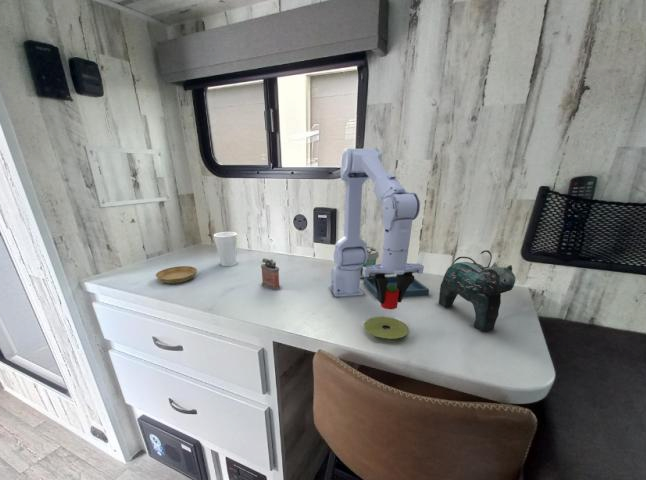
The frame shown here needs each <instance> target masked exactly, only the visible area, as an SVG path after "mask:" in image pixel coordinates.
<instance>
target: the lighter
mask: <svg viewBox="0 0 646 480" xmlns="http://www.w3.org/2000/svg"><path fill="white" fill-rule="evenodd" d="M261 263H262V264H261V265H260V268H261V278H262V281H261V285H262V286H263V287H265V288H267V289H270V290H273V291H279V290H280V289H281V285H280V273H279V272H280V267H278V266H276V265H277V262H276V261H274V260H273V259H272V258H271V259H268V258H265V257H263V258H262V262H261Z"/></svg>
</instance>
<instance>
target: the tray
mask: <svg viewBox="0 0 646 480" xmlns="http://www.w3.org/2000/svg"><path fill="white" fill-rule="evenodd" d="M386 279H387V280H388V284H387V286H391V285H394V286H395V287H396V285H397V277H396V275H394V276H391V275H390V276H386ZM363 285H364V286H365V287H366V288H367V289H368V290H369V292H370V293H371V294H372V295H373V296H374V298H375V299H376V300H378V294H377V289H376V286H375V283H374V280H373V278H372V277H371V278H364V279H363ZM429 293H430V289H429V288H428V287H426V286H425V285H424V284H422V283H421V282H420V281H419V280H418V279H416V278H415V277H414V281H413V282H412V283H411V284H410V286H409V287H408V288H407V290H406V292H405V294H404V296H403V298H410V297H424V296H429Z"/></svg>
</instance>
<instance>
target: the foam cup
mask: <svg viewBox="0 0 646 480" xmlns="http://www.w3.org/2000/svg"><path fill="white" fill-rule="evenodd" d="M213 240H214V243H215V246H216V250H217V253H218V258H219V261H220V264H221V266H222V267H233V266H236V265H237V252H238V251H237V249H238V234H237V232H235V231H221V232H216V233H213Z"/></svg>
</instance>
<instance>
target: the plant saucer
mask: <svg viewBox="0 0 646 480" xmlns="http://www.w3.org/2000/svg"><path fill="white" fill-rule="evenodd" d="M197 272H198V268H196V267H194V266H190V265H181V266H180V265H178V266H171V267H168V268H163V269H161V270H160V271H158V272H156V273H155V277H156V278H157V279H158V280H160V281H162V282H163V283H166V284H182V283H185V282H188V281H189V280H191V279H192V278H193V277H195V276H196V273H197Z"/></svg>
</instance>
